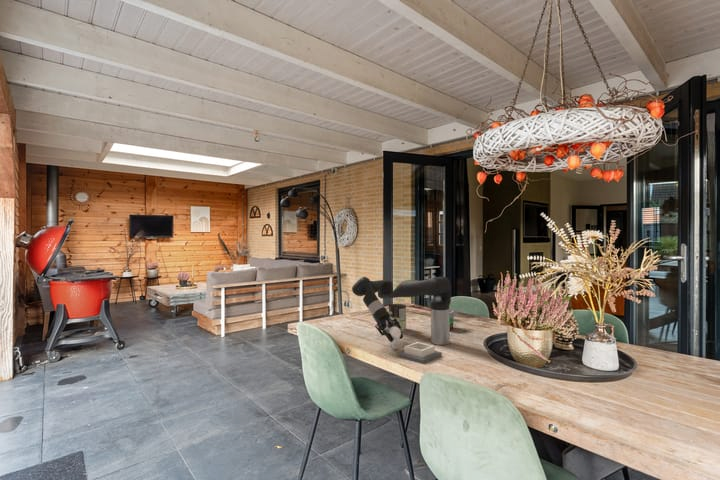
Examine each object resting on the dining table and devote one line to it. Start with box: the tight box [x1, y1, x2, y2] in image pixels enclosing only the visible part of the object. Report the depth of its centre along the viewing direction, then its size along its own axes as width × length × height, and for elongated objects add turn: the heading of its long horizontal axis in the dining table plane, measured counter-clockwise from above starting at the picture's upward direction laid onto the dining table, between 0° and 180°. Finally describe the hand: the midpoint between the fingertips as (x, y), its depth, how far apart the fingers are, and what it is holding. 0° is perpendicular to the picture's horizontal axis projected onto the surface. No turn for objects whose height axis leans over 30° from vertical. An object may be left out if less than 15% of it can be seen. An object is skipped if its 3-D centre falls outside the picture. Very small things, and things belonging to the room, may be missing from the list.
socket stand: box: [397, 341, 443, 364], centre depth 167 cm, size 14×14×4 cm
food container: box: [449, 309, 456, 331], centre depth 214 cm, size 12×6×10 cm, turn 131°
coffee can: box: [388, 303, 407, 332], centre depth 215 cm, size 10×10×14 cm
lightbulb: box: [388, 327, 402, 351], centre depth 177 cm, size 6×6×11 cm
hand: (397, 339), depth 176 cm, fingers closed on lightbulb, 6 cm apart
